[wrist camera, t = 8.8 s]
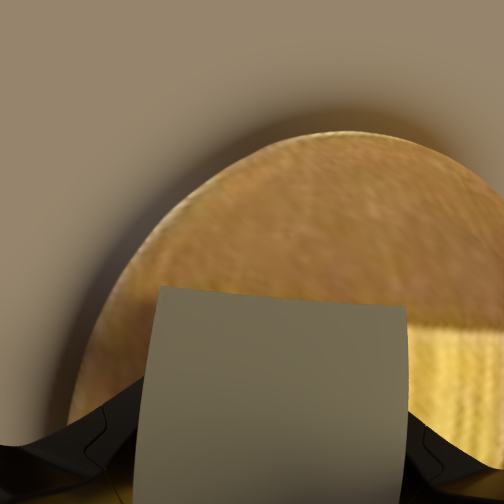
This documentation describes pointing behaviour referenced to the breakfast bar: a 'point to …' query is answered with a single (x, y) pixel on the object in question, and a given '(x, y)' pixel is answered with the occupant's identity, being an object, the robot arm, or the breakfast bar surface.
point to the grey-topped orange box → (272, 402)
